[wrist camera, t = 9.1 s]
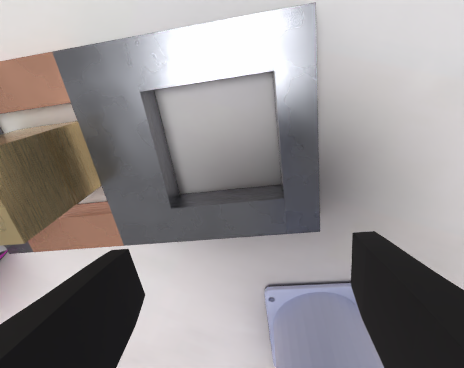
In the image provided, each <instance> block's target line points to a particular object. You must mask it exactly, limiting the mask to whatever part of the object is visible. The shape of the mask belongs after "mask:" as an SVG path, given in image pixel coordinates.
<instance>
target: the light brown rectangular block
mask: <svg viewBox="0 0 464 368" xmlns="http://www.w3.org/2000/svg"><path fill="white" fill-rule="evenodd" d="M100 186H101V182H100V180H99V177H98V174H97V172H96V169H95V166H94V164H93V161H92V158H91V155H90V153H89V150H88V147H87V145H86V142H85V139H84V137H83V134H82V131H81V128H80V126H79V123H78V121H75V122H68V123H61V124H54V125H47V126H40V127H33V128H26V129H20V130H16V131H12V132H9V133H5V134H1V135H0V246H1V245H15V244H25V243H26V242H27V241H29V240H30V239H31V238H33V237H34V236H35V235H37V234H38V233H39V232H41V231H42V230H43V229H45V228H46V227H47V226H49V225H50V224H51V223H52V222H54V221H55V220H56V219H58V218H59V217H60V216H62V215H63V214H64V213H66V212H67V211H68V210H70V209H71V208H72V207H74V206H75V205H76V204H78V203H79V202H80V201H82V200H83V199H84V198H85V197H87V196H88V195H89V194H91V193H92V192H93V191H95V190H96V189H97V188H99V187H100Z"/></svg>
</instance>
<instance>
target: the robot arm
mask: <svg viewBox="0 0 464 368" xmlns="http://www.w3.org/2000/svg"><path fill="white" fill-rule="evenodd" d="M144 297H145V293H144V290H143V288H142V285H141V282H140V279H139V277H138V274H137V271H136V269H135V266H134V263H133V260H132V258H131V255H130V252H129V250H128V249H121V250H111V251H109V252H108V253H106V254H104V255H103V256H101V257H99V258H98V259H96V260H95V261H93V262H92V263H90V264H89V265H87V266H86V267H85V268H83V269H82V270H80V271H79V272H77V273H76V274H74V275H73V276H72V277H70V278H69V279H67V280H66V281H64V282H63V283H62V284H60V285H59V286H57V287H56V288H54V289H53V290H51V291H50V292H49V293H47V294H46V295H44V296H43V297H41V298H40V299H38V300H37V301H35V302H34V303H32V304H31V305H29V306H28V307H26V308H25V309H23V310H22V311H20V312H19V313H17V314H15V315H14V316H12V317H11V318H9V319H8V320H6V321H5V322H3V323H2V324H0V368H116V367H117V365H118V363H119V360H120V358H121V356H122V354H123V352H124V350H125V347H126V345H127V343H128V341H129V339H130V336H131V334H132V332H133V330H134V327H135V325H136V322H137V319H138V316H139V313H140V310H141V307H142V304H143V300H144ZM270 297H273V298H270ZM265 302H266V309H267V317H268V325H269V332H270V340H271V348H272V355H273V363H274V366H275V367H276V368H464V290H462V289H461V288H459V287H458V286H456V285H455V284H453V283H451V282H450V281H448V280H447V279H445V278H443V277H442V276H440V275H439V274H437V273H436V272H434V271H433V270H431V269H430V268H428V267H427V266H425V265H424V264H422V263H421V262H419V261H418V260H416V259H415V258H413V257H412V256H410V255H409V254H407V253H406V252H404V251H403V250H402V249H400V248H399V247H397V246H396V245H394V244H393V243H391V242H390V241H388V240H387V239H385V238H384V237H382V236H381V235H379V234H378V233H376V232H375V231H373V232H359V233H353V240H352V269H351V283H340V284H318V285H295V286H273V287H267V288H266V289H265Z"/></svg>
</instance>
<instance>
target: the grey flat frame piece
mask: <svg viewBox="0 0 464 368" xmlns="http://www.w3.org/2000/svg"><path fill="white" fill-rule="evenodd" d="M269 71H272V72H273V84H274V97H275V109H276V122H277V134H278V147H279V159H280V172H281V184H282V185H273V186H263V187H253V188H242V189H232V190H222V191H212V192H201V193H191V194H181V195H180V194H179V190H178V186H177V182H176V178H175V174H174V170H173V166H172V162H171V158H170V154H169V150H168V145H167V141H166V137H165V133H164V129H163V125H162V121H161V117H160V113H159V109H158V105H157V101H156V97H155V93H154V89H161V88H167V87H173V86H180V85H186V84H193V83H199V82H205V81H212V80H218V79H225V78H231V77H237V76H244V75H250V74H257V73H263V72H269ZM65 103H71V104H72V107H73V110H74V112H75V115H76V118H77V120H78V123H79V126H80V128H81V131H82V134H83V137H84V139H85V142H86V145H87V147H88V150H89V153H90V155H91V158H92V161H93V164H94V166H95V169H96V172H97V174H98V177H99V180H100V182H101V185H102V188H103V190H104V193H105V196H106V199H107V201H108V202H98V203H88V204H77V205H75V206H74V207H72V208H71V209H70V210H68V211H67V212H66V213H64V214H63V215H62V216H60V217H59V218H58V219H56V220H55V221H54V222H52V223H51V224H50V225H49V226H47V227H46V228H45V229H43V230H42V231H41V232H39V233H38V234H37V235H35V236H34V237H33V238H31V239H30V240H29V241H27V242H26V243H25V244H15V245H5V247H6V249H7V250H8V252H9V254H13V253H27V252H41V251H55V250H69V249H83V248H97V247H111V246H125V245H139V244H153V243H167V242H181V241H195V240H209V239H223V238H237V237H251V236H265V235H279V234H293V233H307V232H320V205H319V152H318V100H317V47H316V2H315V3H309V4H304V5H299V6H293V7H288V8H283V9H277V10H272V11H267V12H261V13H256V14H251V15H245V16H240V17H235V18H230V19H224V20H219V21H214V22H208V23H203V24H198V25H192V26H187V27H182V28H176V29H171V30H166V31H160V32H155V33H150V34H144V35H139V36H134V37H128V38H123V39H118V40H112V41H107V42H102V43H96V44H91V45H86V46H80V47H75V48H70V49H64V50H59V51H54V52H48V53H43V54H38V55H32V56H27V57H22V58H16V59H11V60H6V61H0V114H1V113H7V112H13V111H20V110H26V109H33V108H39V107H45V106H52V105H58V104H65ZM1 134H3V132H2V130H1V128H0V135H1Z"/></svg>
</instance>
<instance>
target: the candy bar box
mask: <svg viewBox="0 0 464 368" xmlns="http://www.w3.org/2000/svg"><path fill="white" fill-rule="evenodd" d="M7 251H8V250H7V249H6V247H5V245H1V246H0V260H1V258H2V257H3V256H4V255H5V253H6V252H7Z"/></svg>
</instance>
